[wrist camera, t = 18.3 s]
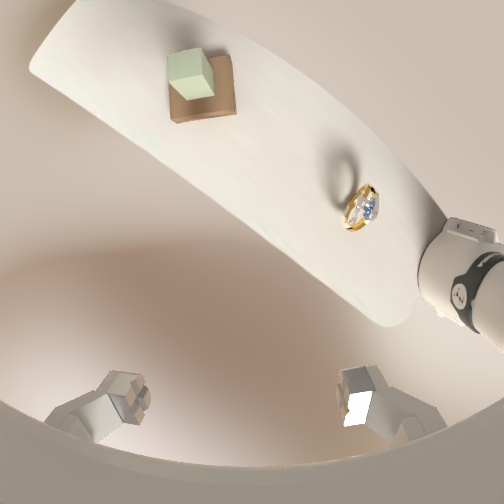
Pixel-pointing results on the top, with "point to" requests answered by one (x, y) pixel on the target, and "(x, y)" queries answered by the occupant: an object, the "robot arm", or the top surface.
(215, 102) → the plinth
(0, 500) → the robot arm
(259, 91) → the top surface
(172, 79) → the block
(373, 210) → the ring
